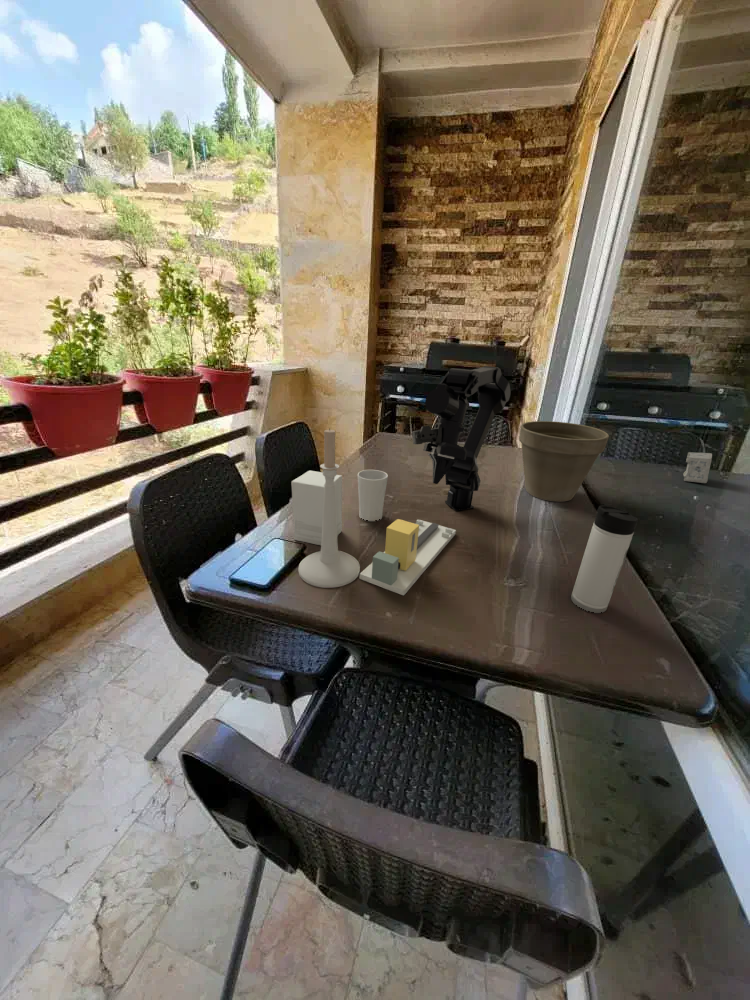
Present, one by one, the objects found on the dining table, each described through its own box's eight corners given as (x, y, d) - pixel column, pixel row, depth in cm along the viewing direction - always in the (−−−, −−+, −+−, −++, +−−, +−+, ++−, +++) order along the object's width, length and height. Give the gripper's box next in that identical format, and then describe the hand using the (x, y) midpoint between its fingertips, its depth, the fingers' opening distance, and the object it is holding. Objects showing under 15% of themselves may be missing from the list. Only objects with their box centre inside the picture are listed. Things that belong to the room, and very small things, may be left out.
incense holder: (679, 474, 155) (689, 449, 151) (705, 479, 150) (716, 454, 146) (677, 480, 148) (688, 454, 143) (705, 486, 143) (716, 459, 139)
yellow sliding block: (394, 553, 86) (397, 518, 83) (415, 560, 84) (419, 525, 80) (383, 563, 82) (386, 527, 78) (405, 571, 80) (409, 534, 76)
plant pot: (505, 499, 122) (518, 431, 113) (511, 475, 143) (522, 416, 134) (593, 515, 114) (615, 443, 105) (585, 488, 135) (603, 426, 126)
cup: (382, 524, 102) (384, 481, 97) (352, 520, 103) (354, 477, 98) (387, 511, 109) (390, 471, 104) (359, 508, 110) (361, 468, 106)
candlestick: (335, 595, 74) (336, 441, 62) (285, 573, 80) (277, 428, 68) (371, 565, 84) (378, 427, 72) (324, 547, 90) (324, 417, 78)
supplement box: (342, 531, 97) (343, 474, 91) (327, 547, 90) (327, 487, 84) (310, 524, 100) (309, 469, 94) (292, 539, 92) (290, 480, 86)
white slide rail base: (419, 523, 103) (421, 502, 101) (455, 534, 99) (458, 512, 96) (359, 578, 79) (360, 552, 76) (403, 595, 75) (406, 568, 72)
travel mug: (562, 593, 78) (589, 502, 70) (593, 592, 78) (623, 502, 70) (580, 614, 72) (611, 517, 64) (613, 613, 73) (648, 517, 65)
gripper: (412, 415, 103) (398, 472, 105) (427, 411, 84) (410, 481, 87) (452, 425, 104) (437, 481, 106) (475, 423, 86) (457, 491, 88)
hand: (435, 483), depth 97 cm, fingers closed
